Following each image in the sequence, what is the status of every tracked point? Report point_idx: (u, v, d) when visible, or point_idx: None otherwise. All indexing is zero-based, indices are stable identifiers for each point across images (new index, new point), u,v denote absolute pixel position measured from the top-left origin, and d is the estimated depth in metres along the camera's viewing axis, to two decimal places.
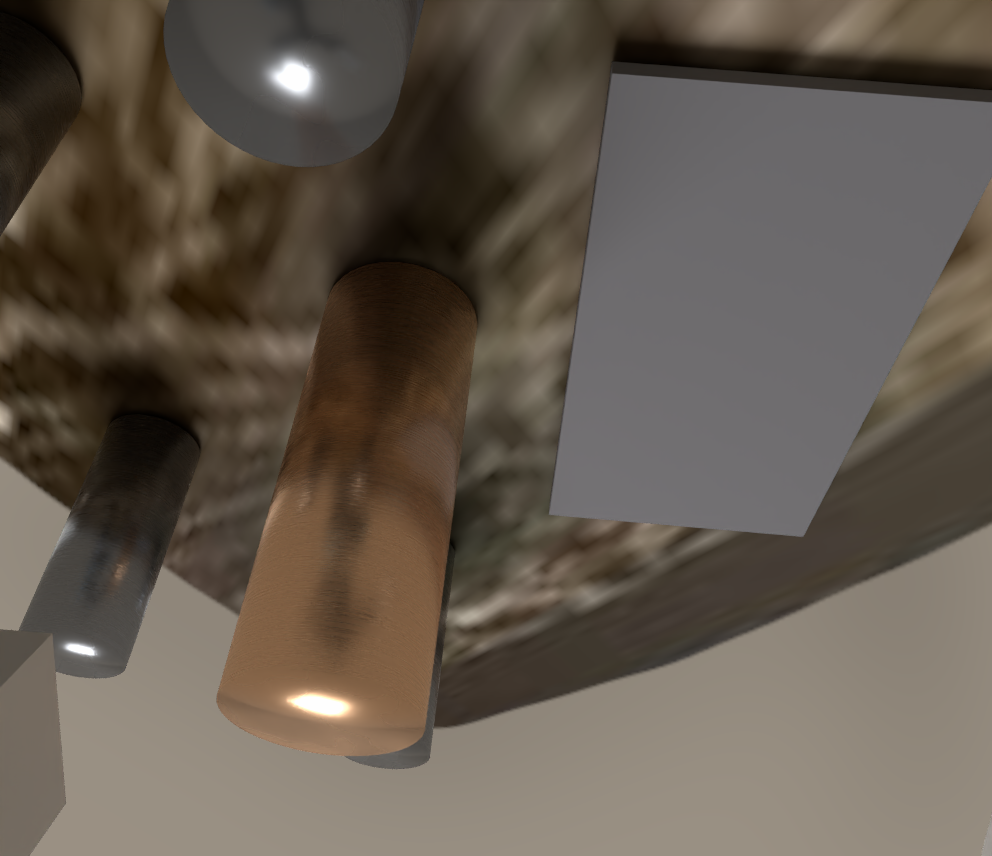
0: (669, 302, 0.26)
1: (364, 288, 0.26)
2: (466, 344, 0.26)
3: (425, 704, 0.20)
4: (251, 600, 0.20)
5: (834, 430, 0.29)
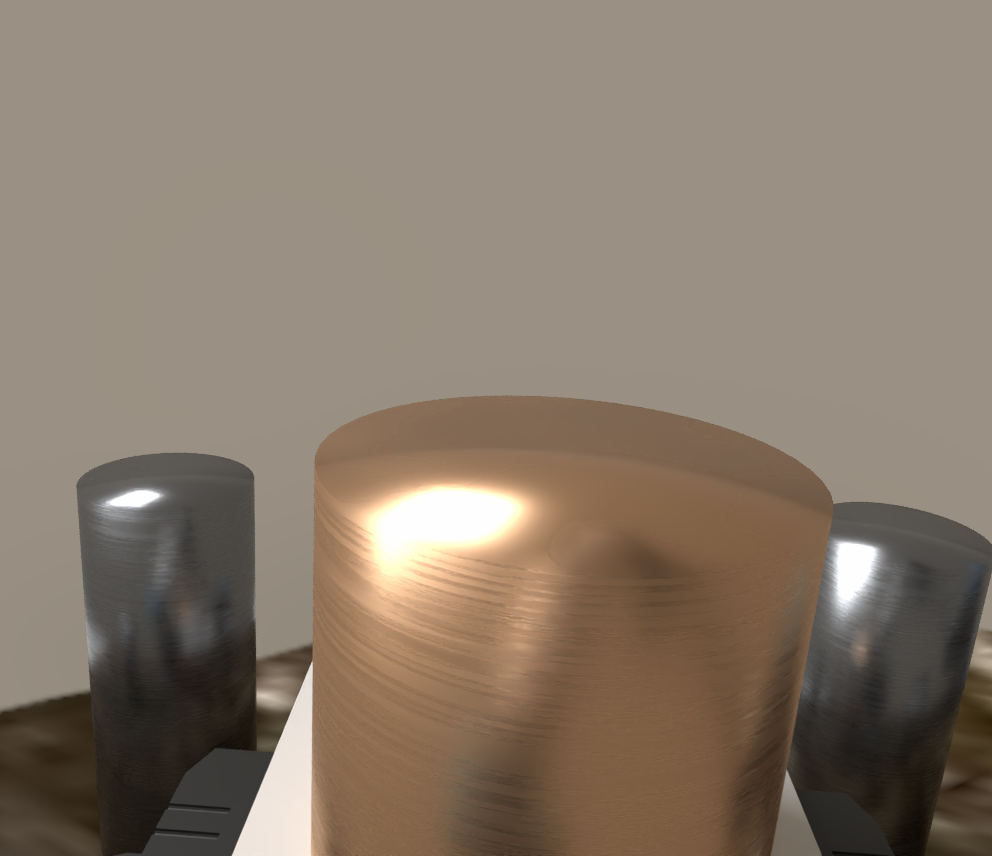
0: None
1: None
2: None
3: (633, 618, 0.06)
4: None
5: None
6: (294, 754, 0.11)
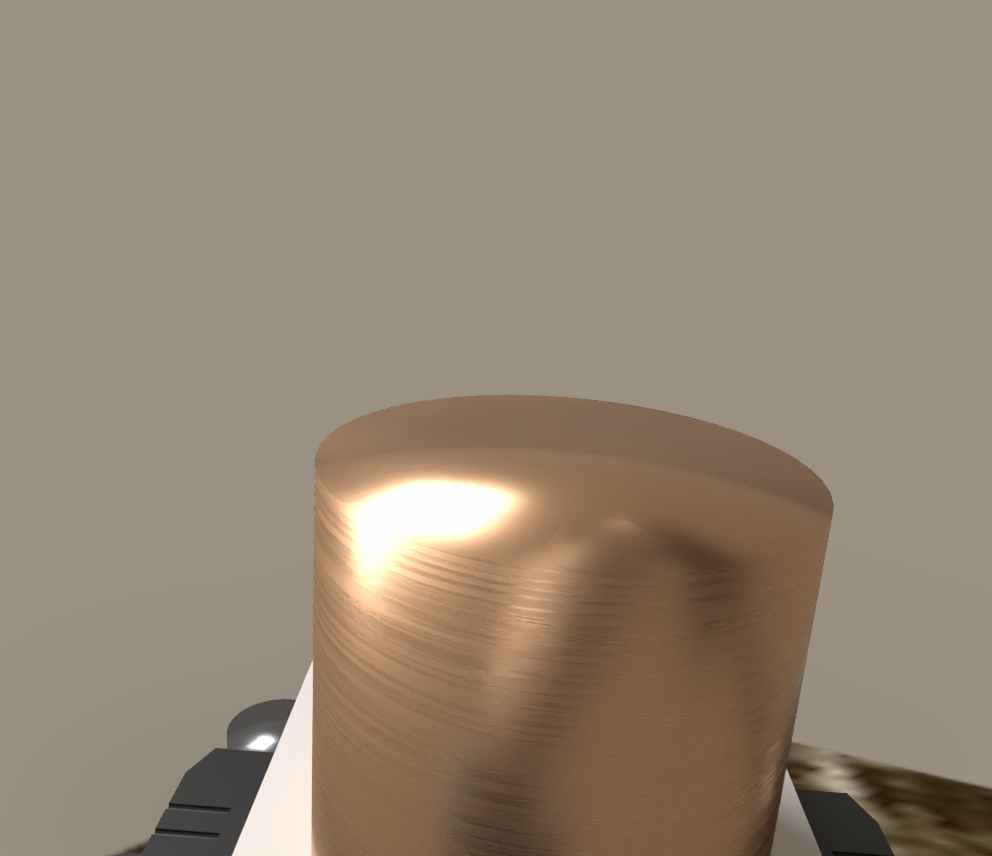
0: None
1: None
2: None
3: (633, 617, 0.06)
4: None
5: None
6: (294, 754, 0.11)
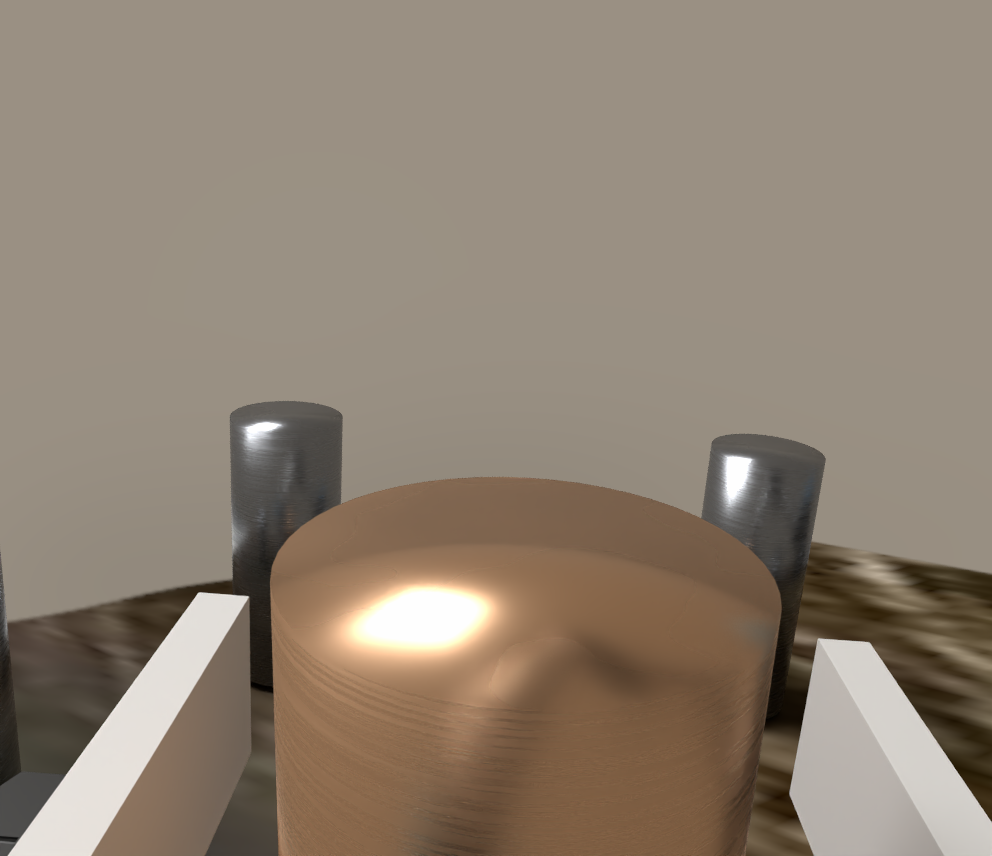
0: None
1: None
2: None
3: (573, 750, 0.06)
4: None
5: None
6: (84, 780, 0.10)
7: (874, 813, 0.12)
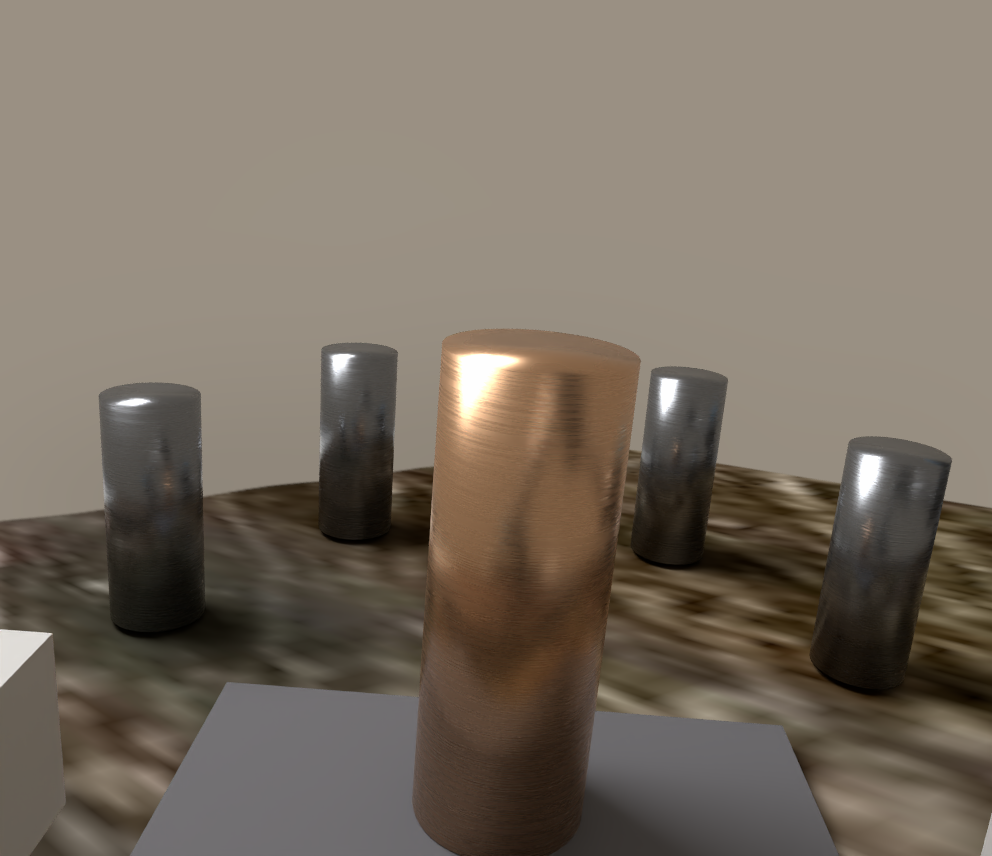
0: None
1: None
2: (536, 804, 0.22)
3: (557, 390, 0.19)
4: None
5: None
6: None
7: None
